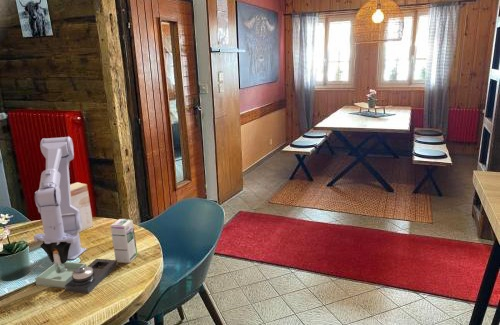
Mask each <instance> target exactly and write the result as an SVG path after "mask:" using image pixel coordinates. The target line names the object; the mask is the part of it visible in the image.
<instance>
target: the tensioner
mask: <svg viewBox="0 0 500 325" xmlns="http://www.w3.org/2000/svg"><path fill="white" fill-rule="evenodd" d="M116 267H118V262H117V260H116V259H105V258H95V259H94V260H93V261H92V262H90V263H89V264H88V265H86V267H81V268H78V269H76V270H75V271H73V273H72V280H71V281H70V282H68V283H67V284H66V285H65V288H64V290H65V292H67V293H80V294H90V293H91V292H92V291H93V290H94V289H95V288H96V287H97V286H98V285H99V284H100V283H101V282H102V281H103V280H104V279H105V278H106V277H107V276H108V275H109V274H110V273H111V272H112V271H113V270H114V269H115V268H116Z"/></svg>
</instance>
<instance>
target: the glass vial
mask: <svg viewBox="0 0 500 325" xmlns="http://www.w3.org/2000/svg"><path fill="white" fill-rule="evenodd" d="M52 253H53V258H54V263H53V265H54V264H55V269H56V273H63V272H65V271H66V270H67V269H66V263H64V264H62V263H61V260H60V256H59V253H58V251H57V249H56V248H54V249H52Z"/></svg>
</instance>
